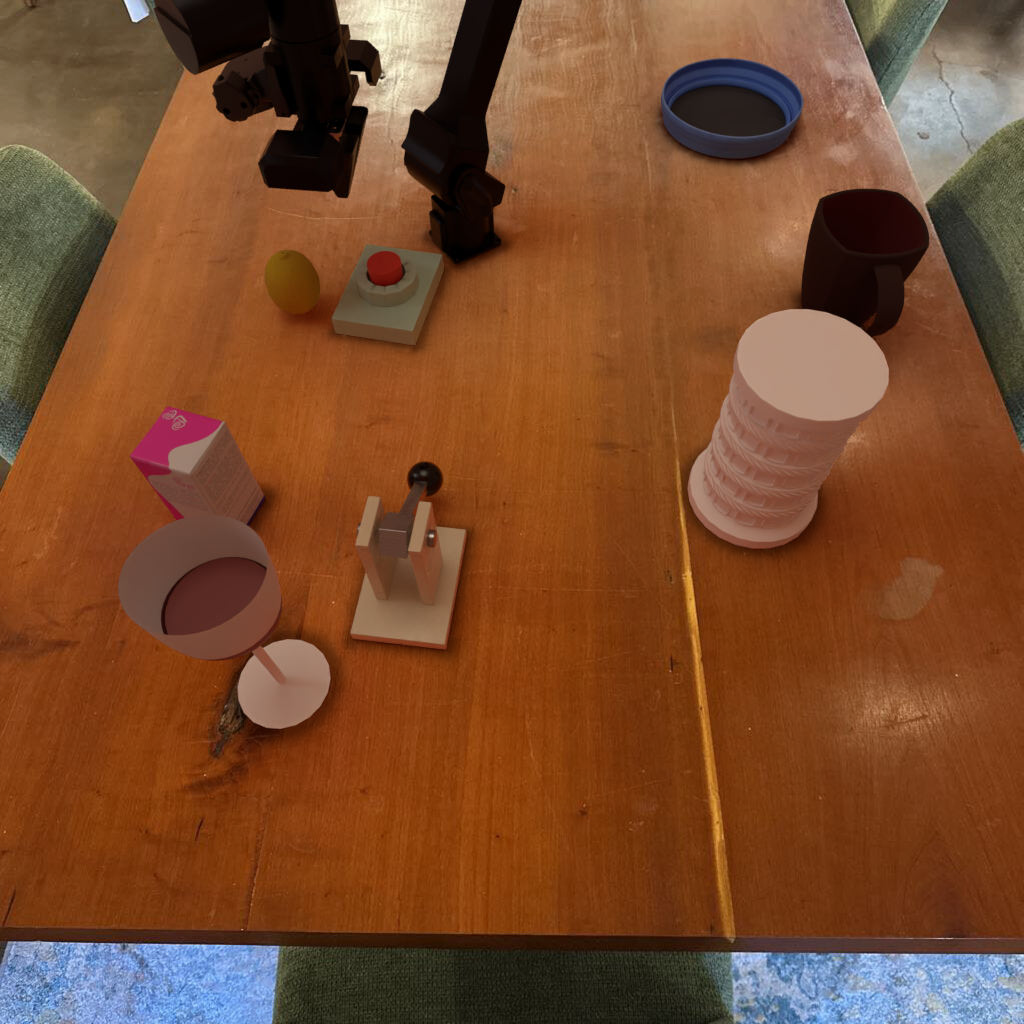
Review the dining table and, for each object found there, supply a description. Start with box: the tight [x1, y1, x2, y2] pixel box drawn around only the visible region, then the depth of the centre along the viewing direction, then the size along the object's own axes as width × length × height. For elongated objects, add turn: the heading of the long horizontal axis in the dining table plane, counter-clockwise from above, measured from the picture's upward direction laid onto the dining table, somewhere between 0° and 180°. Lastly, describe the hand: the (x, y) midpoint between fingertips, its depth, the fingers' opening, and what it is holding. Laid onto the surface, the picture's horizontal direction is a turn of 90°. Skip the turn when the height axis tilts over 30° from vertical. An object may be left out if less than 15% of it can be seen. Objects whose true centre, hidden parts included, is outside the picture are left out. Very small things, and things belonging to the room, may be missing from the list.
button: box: [367, 251, 403, 287], centre depth 81 cm, size 4×4×2 cm
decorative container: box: [686, 308, 890, 549], centre depth 63 cm, size 12×12×18 cm
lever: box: [378, 460, 444, 559], centre depth 63 cm, size 13×3×3 cm
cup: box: [800, 188, 930, 338], centre depth 77 cm, size 10×14×12 cm
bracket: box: [349, 495, 468, 650], centre depth 62 cm, size 11×8×11 cm
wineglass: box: [117, 515, 332, 730], centre depth 54 cm, size 8×9×20 cm
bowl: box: [660, 57, 805, 159], centre depth 100 cm, size 18×18×4 cm
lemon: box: [264, 249, 322, 315], centre depth 81 cm, size 6×6×8 cm
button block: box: [330, 243, 445, 347], centre depth 83 cm, size 12×9×4 cm
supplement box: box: [129, 405, 266, 527], centre depth 66 cm, size 6×6×12 cm
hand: (343, 195), depth 74 cm, fingers closed
